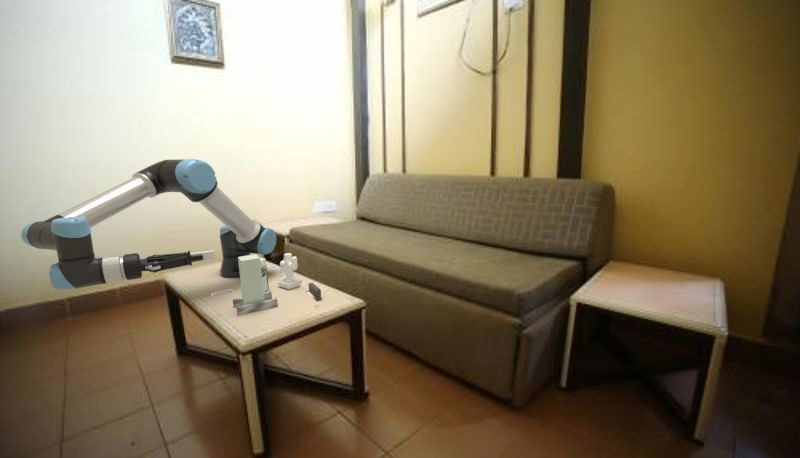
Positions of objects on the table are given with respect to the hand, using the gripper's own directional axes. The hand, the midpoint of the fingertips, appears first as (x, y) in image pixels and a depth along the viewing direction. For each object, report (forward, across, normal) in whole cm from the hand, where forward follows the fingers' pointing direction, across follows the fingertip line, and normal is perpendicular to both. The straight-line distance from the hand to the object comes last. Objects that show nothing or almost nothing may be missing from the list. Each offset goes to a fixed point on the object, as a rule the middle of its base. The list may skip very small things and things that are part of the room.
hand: (214, 254), depth 118 cm
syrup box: (+15, -14, -22) cm, 30 cm away
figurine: (+27, -13, -22) cm, 37 cm away
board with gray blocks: (+18, 0, -22) cm, 29 cm away
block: (+10, 0, -21) cm, 23 cm away
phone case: (+4, -18, -23) cm, 29 cm away
